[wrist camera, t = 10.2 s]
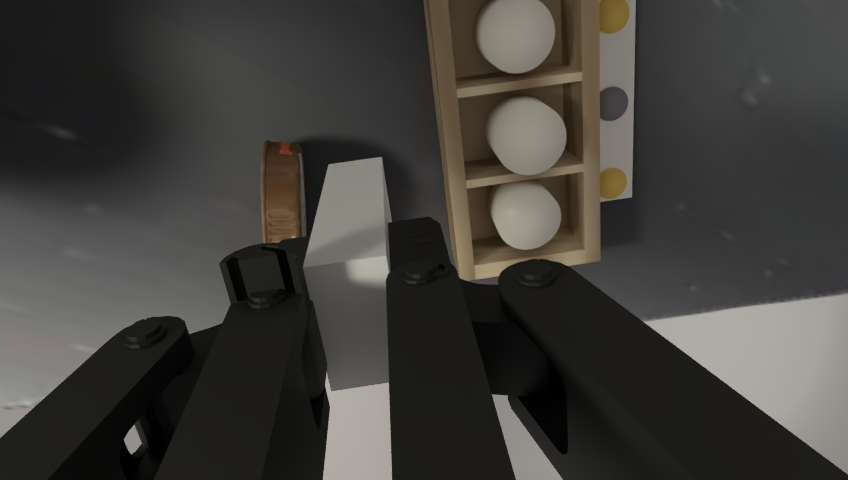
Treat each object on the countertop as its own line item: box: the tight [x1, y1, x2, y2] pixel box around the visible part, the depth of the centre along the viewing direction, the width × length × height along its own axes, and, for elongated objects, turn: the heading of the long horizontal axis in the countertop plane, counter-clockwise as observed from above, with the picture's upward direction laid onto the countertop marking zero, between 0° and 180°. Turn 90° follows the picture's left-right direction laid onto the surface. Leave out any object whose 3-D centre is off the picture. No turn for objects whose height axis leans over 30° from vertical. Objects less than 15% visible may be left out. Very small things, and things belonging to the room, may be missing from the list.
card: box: [599, 0, 636, 202], centre depth 46 cm, size 4×16×1 cm, turn 7°
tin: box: [261, 140, 307, 243], centre depth 44 cm, size 15×3×8 cm, turn 177°
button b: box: [485, 94, 567, 175], centre depth 41 cm, size 5×5×4 cm
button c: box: [473, 0, 555, 73], centre depth 40 cm, size 5×5×4 cm
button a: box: [488, 179, 561, 250], centre depth 45 cm, size 5×5×4 cm
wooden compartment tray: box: [423, 0, 600, 281], centre depth 44 cm, size 11×22×5 cm, turn 7°
